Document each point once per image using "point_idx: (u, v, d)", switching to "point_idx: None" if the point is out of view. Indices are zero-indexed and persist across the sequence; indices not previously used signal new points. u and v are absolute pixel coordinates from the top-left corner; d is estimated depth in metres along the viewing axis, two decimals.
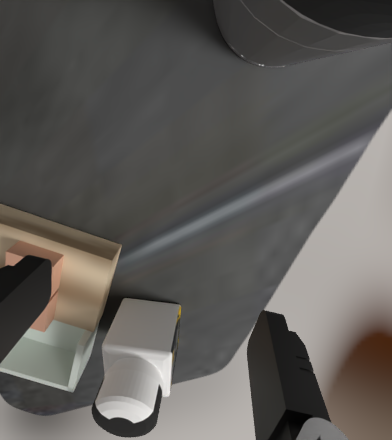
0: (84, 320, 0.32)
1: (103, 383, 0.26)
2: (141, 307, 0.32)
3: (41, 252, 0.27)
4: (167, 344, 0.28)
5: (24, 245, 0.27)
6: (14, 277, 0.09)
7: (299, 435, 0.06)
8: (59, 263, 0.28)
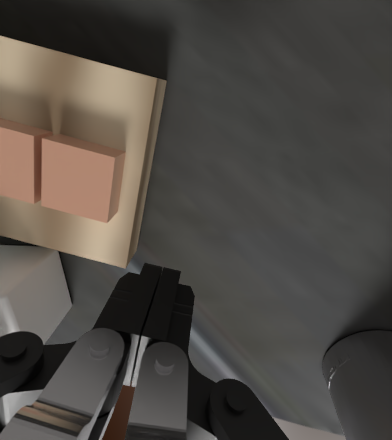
0: (9, 224, 0.22)
1: None
2: (56, 278, 0.26)
3: (117, 190, 0.19)
4: None
5: (121, 164, 0.18)
6: (146, 284, 0.10)
7: (140, 369, 0.07)
8: None
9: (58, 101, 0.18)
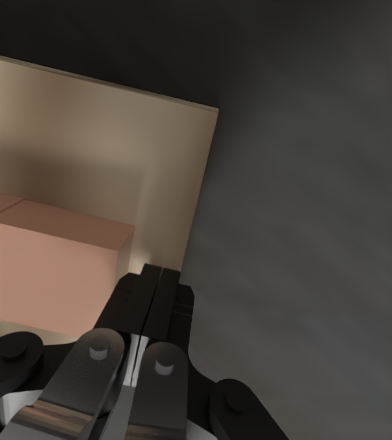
0: None
1: None
2: None
3: None
4: None
5: (128, 248, 0.11)
6: (146, 284, 0.10)
7: (140, 369, 0.07)
8: None
9: (43, 153, 0.10)
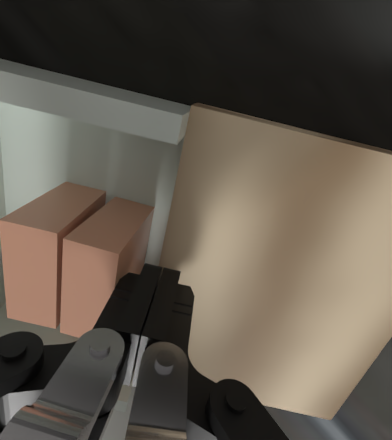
0: None
1: None
2: None
3: (95, 305, 0.11)
4: None
5: (103, 269, 0.10)
6: (147, 284, 0.10)
7: (140, 369, 0.07)
8: None
9: (305, 214, 0.11)
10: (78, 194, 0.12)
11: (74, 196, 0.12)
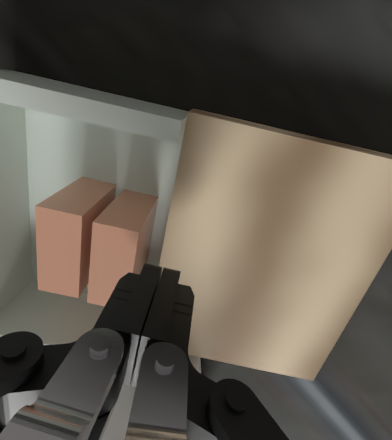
0: None
1: None
2: None
3: (117, 276, 0.13)
4: None
5: (125, 245, 0.12)
6: (146, 284, 0.10)
7: (140, 369, 0.07)
8: None
9: (283, 198, 0.13)
10: (93, 187, 0.15)
11: (90, 188, 0.15)
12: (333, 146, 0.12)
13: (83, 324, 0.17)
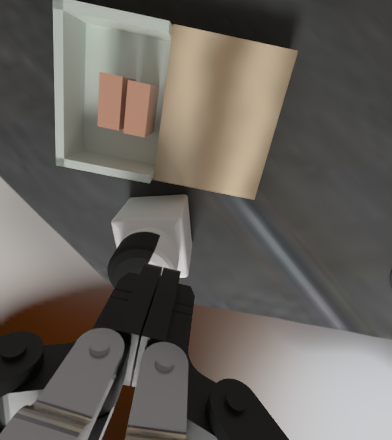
0: (168, 170, 0.29)
1: (160, 241, 0.25)
2: (188, 218, 0.33)
3: (139, 114, 0.25)
4: (188, 267, 0.30)
5: (144, 93, 0.24)
6: (146, 284, 0.10)
7: (140, 369, 0.07)
8: None
9: (223, 72, 0.25)
10: None
11: None
12: (245, 40, 0.24)
13: (117, 164, 0.29)
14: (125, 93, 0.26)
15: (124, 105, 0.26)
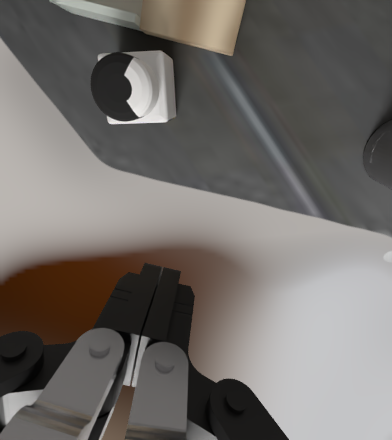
0: (153, 18, 0.31)
1: (140, 60, 0.27)
2: (172, 80, 0.35)
3: None
4: (169, 115, 0.33)
5: None
6: (146, 284, 0.10)
7: (140, 369, 0.07)
8: None
9: None
10: None
11: None
12: None
13: None
14: None
15: None
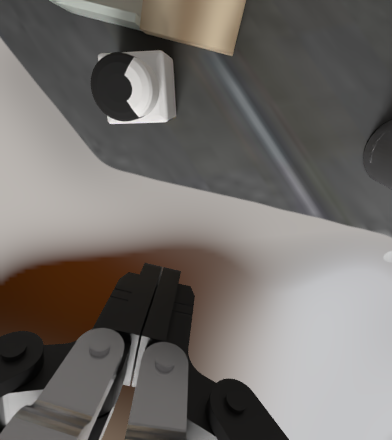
0: (153, 18, 0.31)
1: (141, 60, 0.27)
2: (173, 80, 0.35)
3: None
4: (169, 115, 0.33)
5: None
6: (146, 284, 0.10)
7: (140, 369, 0.07)
8: None
9: None
10: None
11: None
12: None
13: None
14: None
15: None
